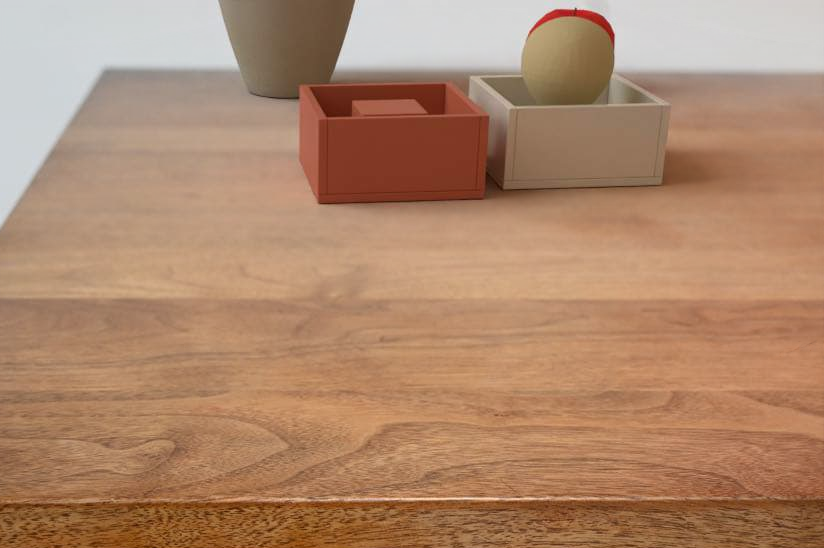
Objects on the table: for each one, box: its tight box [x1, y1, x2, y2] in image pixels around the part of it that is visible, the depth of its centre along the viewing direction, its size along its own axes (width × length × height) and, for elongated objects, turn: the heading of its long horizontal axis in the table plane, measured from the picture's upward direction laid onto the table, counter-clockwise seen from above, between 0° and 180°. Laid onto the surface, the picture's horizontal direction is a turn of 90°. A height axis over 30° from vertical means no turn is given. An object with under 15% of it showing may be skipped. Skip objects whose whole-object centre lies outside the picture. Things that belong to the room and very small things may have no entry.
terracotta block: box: [352, 99, 428, 117], centre depth 87 cm, size 4×4×4 cm
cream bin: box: [468, 72, 672, 191], centre depth 90 cm, size 11×11×6 cm
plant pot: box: [217, 0, 356, 99], centre depth 113 cm, size 15×15×16 cm
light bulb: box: [520, 17, 616, 106], centre depth 89 cm, size 6×6×10 cm
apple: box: [525, 6, 616, 49], centre depth 115 cm, size 8×8×7 cm
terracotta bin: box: [298, 81, 489, 204], centre depth 87 cm, size 11×11×6 cm
